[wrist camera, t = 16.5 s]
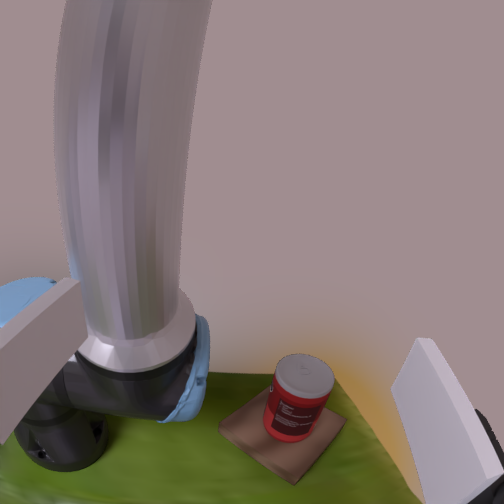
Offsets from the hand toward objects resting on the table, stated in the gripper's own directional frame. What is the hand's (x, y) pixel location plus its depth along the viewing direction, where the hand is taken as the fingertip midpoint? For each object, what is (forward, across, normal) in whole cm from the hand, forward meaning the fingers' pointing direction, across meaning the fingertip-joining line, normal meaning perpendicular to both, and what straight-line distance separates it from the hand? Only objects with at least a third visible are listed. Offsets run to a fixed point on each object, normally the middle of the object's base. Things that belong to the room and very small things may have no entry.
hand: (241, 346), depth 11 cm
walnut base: (+20, +8, -32) cm, 39 cm away
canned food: (+20, +8, -30) cm, 37 cm away
